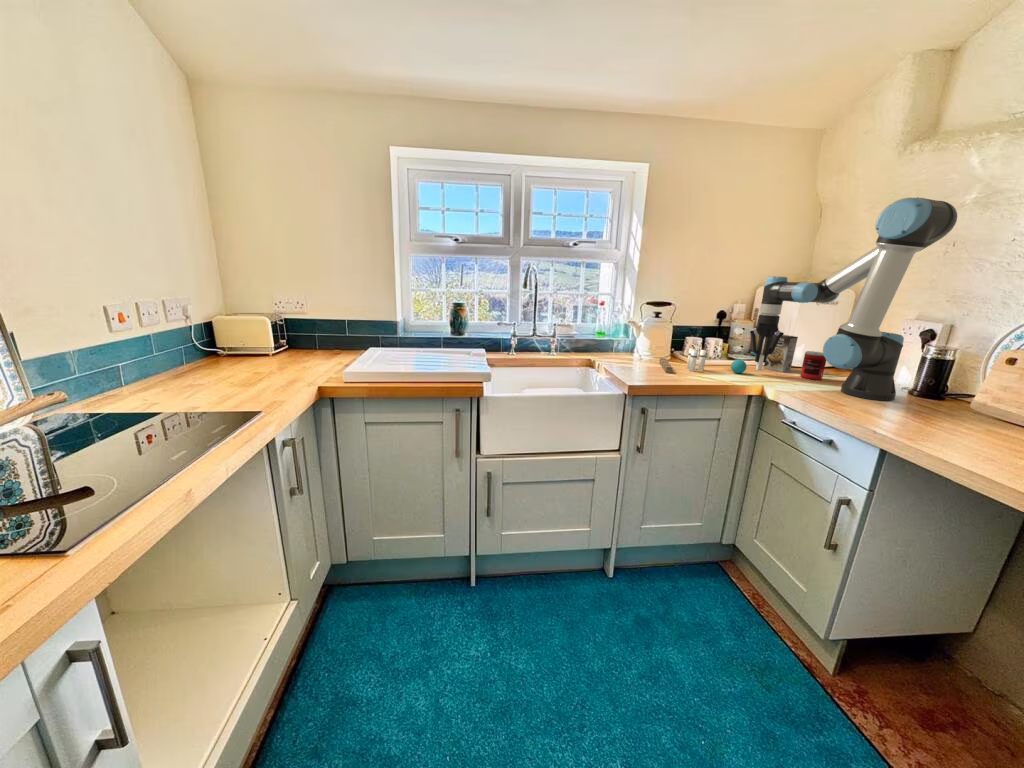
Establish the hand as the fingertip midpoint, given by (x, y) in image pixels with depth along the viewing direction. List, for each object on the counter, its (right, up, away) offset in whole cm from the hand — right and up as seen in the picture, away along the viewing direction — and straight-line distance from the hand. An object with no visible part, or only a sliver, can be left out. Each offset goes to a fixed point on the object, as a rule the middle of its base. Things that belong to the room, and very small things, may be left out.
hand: (758, 369), depth 177 cm
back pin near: (-27, -1, +3) cm, 28 cm away
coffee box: (+16, 0, +12) cm, 20 cm away
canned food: (+20, -4, -3) cm, 21 cm away
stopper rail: (-37, +1, +8) cm, 38 cm away
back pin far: (-26, +1, +8) cm, 28 cm away
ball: (-8, +1, +1) cm, 8 cm away
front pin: (-23, 0, +5) cm, 23 cm away
